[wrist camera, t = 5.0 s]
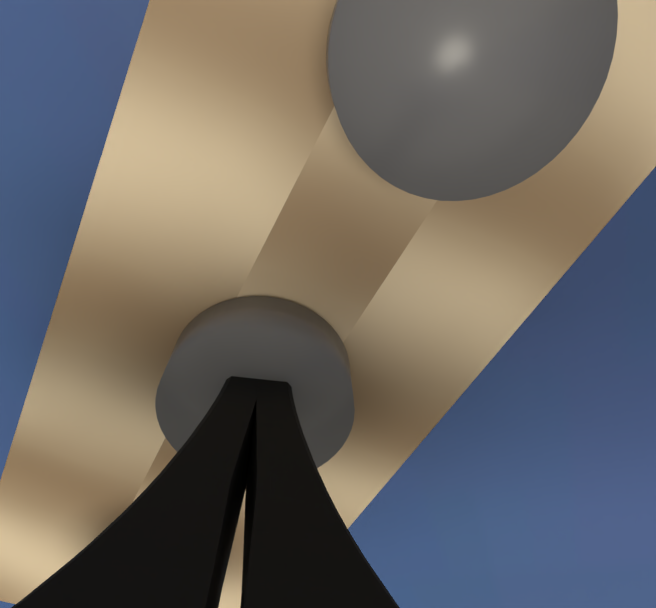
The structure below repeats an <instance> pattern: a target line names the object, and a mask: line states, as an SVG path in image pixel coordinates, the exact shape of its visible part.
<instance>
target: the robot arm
mask: <svg viewBox="0 0 656 608" xmlns="http://www.w3.org/2000/svg"><path fill="white" fill-rule="evenodd" d="M245 490H246V495H245V519H244V544H243V569H242V593H241V606H240V608H399V606H398V605H397V604H396V602H395V601H394V599H393V598H392V596H391V595H390V593H389V592H388V591H387V589H386V588H385V586H384V585H383V583H382V582H381V580H380V579H379V577H378V576H377V575H376V573H375V572H374V570H373V569H372V567H371V566H370V564H369V563H368V561H367V560H366V558H365V557H364V555H363V554H362V552H361V550H360V549H359V547H358V545H357V544H356V542H355V541H354V539H353V537H352V536H351V534H350V532H349V531H348V529H347V527H346V525H345V523H344V522H343V520H342V518H341V516H340V514H339V513H338V511H337V509H336V507H335V505H334V503H333V501H332V499H331V497H330V495H329V493H328V491H327V489H326V487H325V485H324V483H323V480H322V478H321V476H320V474H319V472H318V469H317V467H316V465H315V462H314V460H313V457H312V455H311V452H310V450H309V447H308V444H307V442H306V439H305V437H304V434H303V431H302V428H301V425H300V421H299V418H298V415H297V411H296V407H295V403H294V399H293V394H292V387H291V385H290V384H289V383H288V382H283V381H273V380H264V379H255V378H245V377H236V376H231V377H229V378H228V379H226V381H225V383H224V385H223V387H222V389H221V391H220V393H219V394H218V396H217V398H216V399H215V401H214V403H213V404H212V406H211V407H210V409H209V410H208V412H207V413H206V415H205V416H204V418H203V419H202V421H201V422H200V423H199V425H198V426H197V427H196V429H195V430H194V432H193V433H192V434H191V436H190V437H189V438H188V440H187V441H186V442H185V444H184V445H183V446H182V447H181V449H180V450H179V451H178V452H177V453H176V455H175V456H174V457H173V458H172V459H171V461H170V462H169V463H168V464H167V465H166V467H165V468H164V469H163V470H162V471H161V473H160V474H159V475H158V476H157V477H156V478H155V479H154V480H153V481H152V483H151V484H150V485H149V486H148V487H147V488H146V489H145V490H144V491H143V492H142V493H141V494H140V495H139V496H138V497H137V498H136V499H135V500H134V501H133V503H132V504H131V505H130V506H129V507H128V508H127V509H126V510H125V511H124V512H123V513H122V514H121V515H120V516H118V517H117V518H116V519H115V520H114V521H113V522H112V523H111V524H110V525H109V526H108V527H107V528H106V529H105V530H103V531H102V532H101V533H100V534H99V535H98V536H97V537H96V538H95V539H94V540H93V541H92V542H91V543H89V544H88V545H87V546H86V547H85V548H84V549H83V550H82V551H80V552H79V553H78V554H77V555H76V556H75V557H73V558H72V559H71V560H70V561H69V562H67V563H66V564H65V565H64V566H63V567H61V568H60V569H59V570H58V571H56V572H55V573H54V574H53V575H51V576H50V577H49V578H48V579H47V580H45V581H44V582H43V583H42V584H40V585H39V586H38V587H37V588H35V589H34V590H33V591H32V592H31V593H29V594H28V595H27V596H26V597H24V598H23V599H22V600H21V601H19V602H18V603H17V604H15V605H14V606H13V607H12V608H218V607H219V602H220V597H221V592H222V587H223V583H224V579H225V575H226V570H227V566H228V562H229V558H230V553H231V549H232V545H233V541H234V537H235V532H236V528H237V524H238V520H239V515H240V511H241V507H242V503H243V498H244V494H245Z"/></svg>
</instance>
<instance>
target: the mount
mask: <svg viewBox="0 0 656 608" xmlns="http://www.w3.org/2000/svg"><path fill="white" fill-rule="evenodd" d="M336 1H337V0H150V1H149V5H148V8H147V11H146V14H145V17H144V21H143V24H142V27H141V30H140V33H139V37H138V40H137V43H136V46H135V50H134V53H133V56H132V59H131V62H130V66H129V69H128V72H127V75H126V78H125V82H124V85H123V88H122V91H121V95H120V98H119V101H118V104H117V107H116V111H115V114H114V117H113V120H112V124H111V127H110V130H109V133H108V136H107V140H106V143H105V146H104V149H103V152H102V156H101V159H100V162H99V165H98V169H97V172H96V175H95V178H94V181H93V185H92V188H91V191H90V194H89V197H88V201H87V204H86V207H85V210H84V214H83V217H82V220H81V223H80V226H79V230H78V233H77V236H76V239H75V242H74V246H73V249H72V252H71V255H70V259H69V262H68V265H67V268H66V271H65V275H64V278H63V281H62V284H61V287H60V291H59V294H58V297H57V300H56V304H55V307H54V310H53V313H52V316H51V320H50V323H49V326H48V329H47V332H46V336H45V339H44V342H43V345H42V349H41V352H40V355H39V358H38V361H37V365H36V368H35V371H34V374H33V377H32V381H31V384H30V387H29V390H28V394H27V397H26V400H25V403H24V406H23V410H22V413H21V416H20V419H19V422H18V426H17V429H16V432H15V435H14V439H13V442H12V445H11V448H10V451H9V455H8V458H7V461H6V464H5V467H4V471H3V474H2V477H1V480H0V601H4V602H9V603H13V604H17V603H18V602H19V601H21V600H22V599H23V598H24V597H26V596H27V595H28V594H29V593H31V592H32V591H33V590H34V589H35V588H37V587H38V586H39V585H40V584H42V583H43V582H44V581H45V580H47V579H48V578H49V577H50V576H51V575H53V574H54V573H55V572H56V571H58V570H59V569H60V568H61V567H63V566H64V565H65V564H66V563H67V562H69V561H70V560H71V559H72V558H73V557H75V556H76V555H77V554H78V553H79V552H80V551H82V550H83V549H84V548H85V547H86V546H87V545H88V544H89V543H91V542H92V541H93V540H94V539H95V538H96V537H97V536H98V535H99V534H100V533H101V532H102V531H103V530H105V529H106V528H107V527H108V526H109V525H110V524H111V523H112V522H113V521H114V520H115V519H116V518H117V517H118V516H120V515H121V514H122V513H123V512H124V511H125V510H126V509H127V508H128V507H129V506H130V505H131V504H132V503H133V501H134V500H135V499H136V498H137V497H138V496H139V495H140V494H141V493H142V492H143V491H144V490H145V489H146V488H147V487H148V486H149V485H150V484H151V483H152V481H153V480H154V479H155V478H156V477H157V476H158V475H159V474H160V473H161V471H162V470H163V469H164V468H165V467H166V465H167V464H168V463H169V462H170V461H171V459H172V458H173V457H174V456H175V455H176V453H177V451H176V450H175V449H174V448H173V447H172V446H171V444H170V443H169V442H168V440H167V439H166V438H165V436H164V434H163V432H162V430H161V428H160V426H159V423H158V420H157V415H156V409H155V398H156V393H157V388H158V385H159V383H160V380H161V377H162V375H163V373H164V370H165V368H166V366H167V364H168V361H169V359H170V357H171V354H172V352H173V350H174V347H175V345H176V343H177V340H178V339H179V337H180V335H181V333H182V331H183V330H184V329H185V328H186V326H187V325H188V324H189V323H190V322H191V321H192V320H193V319H194V318H195V317H196V316H197V315H199V314H200V313H202V312H203V311H205V310H206V309H208V308H210V307H212V306H214V305H216V304H218V303H221V302H224V301H227V300H230V299H235V298H240V297H249V296H267V297H275V298H280V299H284V300H288V301H292V302H294V303H297V304H300V305H302V306H304V307H306V308H308V309H310V310H312V311H313V312H315V313H316V314H318V315H319V316H321V317H322V318H323V319H324V320H325V321H327V322H328V323H329V324H330V325H331V326H332V328H333V329H334V330H335V331H336V332H337V333H338V335H339V337H340V338H341V340H342V342H343V344H344V346H345V348H346V351H347V354H348V358H349V364H350V372H351V381H352V389H353V397H354V408H355V413H354V422H353V426H352V430H351V432H350V434H349V436H348V439H347V440H346V442H345V443H344V445H343V446H342V448H341V449H340V450H339V451H338V452H337V453H336V455H334V456H333V457H332V458H331V459H330V460H329V461H328V462H326V463H325V464H323V465H322V466H320V467H319V468H317V469H318V472H319V474H320V476H321V478H322V480H323V483H324V485H325V487H326V489H327V491H328V493H329V495H330V497H331V499H332V501H333V503H334V505H335V507H336V509H337V511H338V513H339V514H340V516H341V518H342V520H343V522H344V523H345V525H346V527H347V529H348V528H349V527H350V525H351V524H352V523H353V522H354V521H355V520H356V518H357V517H358V516H359V515H360V514H361V512H362V511H363V510H364V509H365V508H366V507H367V505H368V504H369V503H370V502H371V501H372V500H373V498H374V497H375V496H376V495H377V494H378V492H379V491H380V490H381V489H382V488H383V487H384V485H385V484H386V483H387V482H388V481H389V479H390V478H391V477H392V476H393V475H394V474H395V472H396V471H397V470H398V469H399V468H400V467H401V465H402V464H403V463H404V462H405V461H406V459H407V458H408V457H409V456H410V455H411V454H412V452H413V451H414V450H415V449H416V448H417V447H418V445H419V444H420V443H421V442H422V441H423V439H424V438H425V437H426V436H427V435H428V434H429V432H430V431H431V430H432V429H433V428H434V427H435V425H436V424H437V423H438V422H439V421H440V419H441V418H442V417H443V416H444V415H445V414H446V412H447V411H448V410H449V409H450V408H451V407H452V405H453V404H454V403H455V402H456V401H457V399H458V398H459V397H460V396H461V395H462V394H463V392H464V391H465V390H466V389H467V388H468V386H469V385H470V384H471V383H472V382H473V381H474V379H475V378H476V377H477V376H478V375H479V374H480V372H481V371H482V370H483V369H484V368H485V366H486V365H487V364H488V363H489V362H490V361H491V359H492V358H493V357H494V356H495V355H496V354H497V352H498V351H499V350H500V349H501V348H502V346H503V345H504V344H505V343H506V342H507V341H508V339H509V338H510V337H511V336H512V335H513V334H514V332H515V331H516V330H517V329H518V328H519V326H520V325H521V324H522V323H523V322H524V321H525V319H526V318H527V317H528V316H529V315H530V314H531V312H532V311H533V310H534V309H535V308H536V306H537V305H538V304H539V303H540V302H541V301H542V299H543V298H544V297H545V296H546V295H547V293H548V292H549V291H550V290H551V289H552V288H553V286H554V285H555V284H556V283H557V282H558V281H559V279H560V278H561V277H562V276H563V275H564V273H565V272H566V271H567V270H568V269H569V268H570V266H571V265H572V264H573V263H574V262H575V261H576V259H577V258H578V257H579V256H580V255H581V253H582V252H583V251H584V250H585V249H586V248H587V246H588V245H589V244H590V243H591V242H592V241H593V239H594V238H595V237H596V236H597V235H598V233H599V232H600V231H601V230H602V229H603V228H604V226H605V225H606V224H607V223H608V222H609V221H610V219H611V218H612V217H613V216H614V215H615V213H616V212H617V211H618V210H619V209H620V208H621V206H622V205H623V204H624V203H625V202H626V200H627V199H628V198H629V197H630V196H631V195H632V193H633V192H634V191H635V190H636V189H637V188H638V186H639V185H640V184H641V183H642V182H643V180H644V179H645V178H646V177H647V176H648V175H649V173H650V172H651V171H652V170H653V169H654V168H655V166H656V0H617V6H618V23H617V37H616V43H615V49H614V54H613V59H612V62H611V66H610V69H609V73H608V76H607V79H606V81H605V84H604V86H603V89H602V91H601V94H600V96H599V98H598V100H597V102H596V104H595V106H594V108H593V109H592V111H591V113H590V115H589V117H588V118H587V120H586V121H585V123H584V124H583V126H582V127H581V128H580V130H579V131H578V133H577V134H576V135H575V136H574V138H573V139H572V140H571V141H570V142H569V144H568V145H567V146H566V147H565V148H564V149H563V150H562V151H561V152H560V153H559V154H558V155H557V156H556V157H555V158H554V159H553V160H552V161H551V162H550V163H548V164H547V165H546V166H545V167H543V168H542V169H541V170H540V171H538V172H537V173H535V174H534V175H532V176H531V177H529V178H528V179H526V180H524V181H523V182H521V183H519V184H517V185H515V186H513V187H511V188H509V189H507V190H505V191H502V192H499V193H496V194H493V195H490V196H487V197H482V198H478V199H473V200H464V201H439V200H433V199H427V198H423V197H419V196H416V195H413V194H410V193H407V192H405V191H403V190H401V189H399V188H397V187H395V186H393V185H392V184H390V183H388V182H387V181H385V180H384V179H382V178H381V177H380V176H379V175H378V174H376V173H375V172H374V171H373V170H372V169H371V168H369V166H368V165H367V164H366V163H365V162H364V161H363V160H362V158H361V157H360V156H359V155H358V154H357V152H356V151H355V149H354V148H353V146H352V145H351V143H350V142H349V140H348V138H347V136H346V134H345V132H344V130H343V128H342V126H341V124H340V121H339V118H338V115H337V112H336V109H335V106H334V103H333V100H332V97H331V94H330V89H329V84H328V79H327V67H326V47H327V38H328V31H329V25H330V21H331V17H332V13H333V10H334V6H335V4H336ZM245 495H246V490H245V494H244V498H243V503H242V507H241V511H240V515H239V520H238V524H237V528H236V532H235V537H234V541H233V545H232V549H231V553H230V558H229V562H228V566H227V570H226V575H225V579H224V583H223V587H222V592H221V597H220V602H219V607H218V608H240V606H241V593H242V569H243V544H244V519H245Z"/></svg>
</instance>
